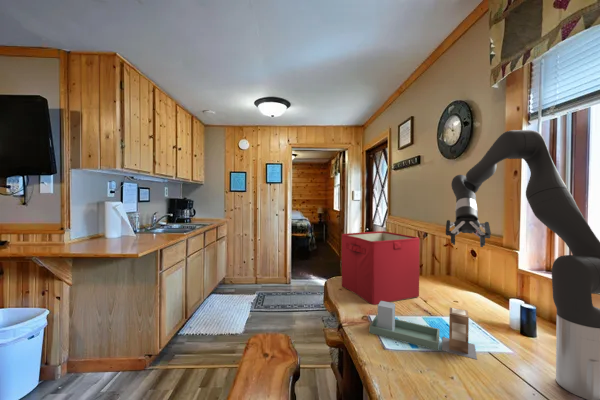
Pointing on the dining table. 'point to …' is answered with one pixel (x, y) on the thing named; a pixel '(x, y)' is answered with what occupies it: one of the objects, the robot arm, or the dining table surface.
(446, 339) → the slate pad
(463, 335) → the label box
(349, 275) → the storage cube
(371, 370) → the dining table surface
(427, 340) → the parts bin
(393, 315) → the plain box
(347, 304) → the dining table surface
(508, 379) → the dining table surface
